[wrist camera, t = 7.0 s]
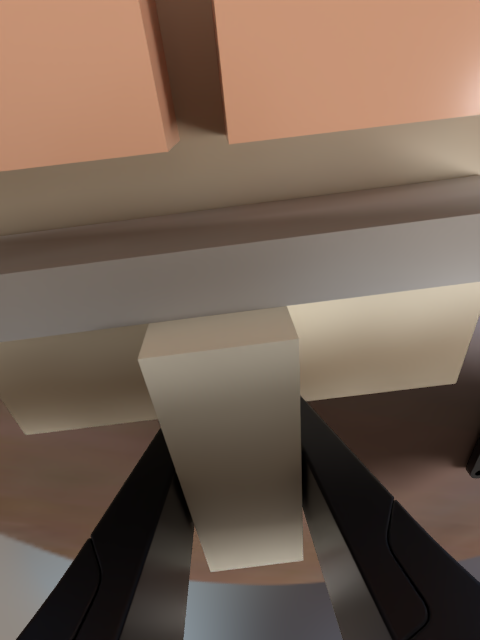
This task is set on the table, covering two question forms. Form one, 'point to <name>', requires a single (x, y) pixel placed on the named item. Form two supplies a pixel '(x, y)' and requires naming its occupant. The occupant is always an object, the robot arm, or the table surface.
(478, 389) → the table surface
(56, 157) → the tile
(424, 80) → the tile
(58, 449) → the table surface
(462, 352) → the board
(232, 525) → the scraper
